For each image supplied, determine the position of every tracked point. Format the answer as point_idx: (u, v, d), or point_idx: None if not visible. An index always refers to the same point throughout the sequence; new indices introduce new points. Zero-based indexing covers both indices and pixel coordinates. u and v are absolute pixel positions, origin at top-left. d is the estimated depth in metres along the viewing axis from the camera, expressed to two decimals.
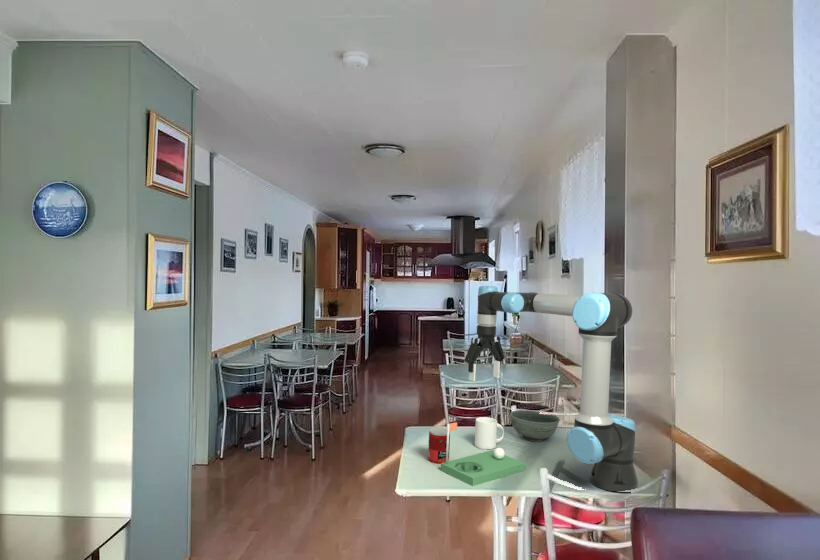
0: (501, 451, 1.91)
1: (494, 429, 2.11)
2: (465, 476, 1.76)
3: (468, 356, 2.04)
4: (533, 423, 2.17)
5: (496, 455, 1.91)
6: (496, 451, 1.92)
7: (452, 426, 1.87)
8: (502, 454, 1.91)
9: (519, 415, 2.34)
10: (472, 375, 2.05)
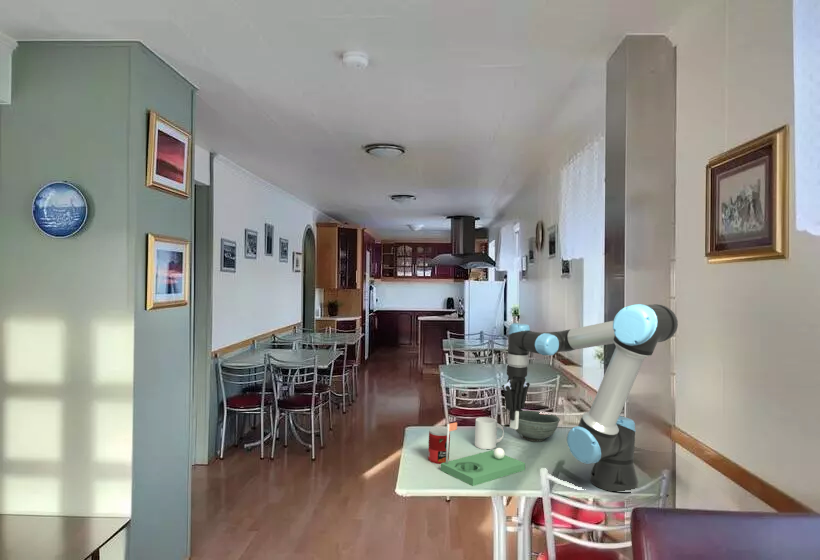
0: (501, 451, 1.91)
1: (494, 429, 2.11)
2: (465, 476, 1.76)
3: (508, 405, 1.95)
4: (533, 423, 2.17)
5: (496, 455, 1.91)
6: (496, 451, 1.92)
7: (452, 426, 1.87)
8: (502, 454, 1.91)
9: (519, 415, 2.34)
10: (514, 423, 1.97)
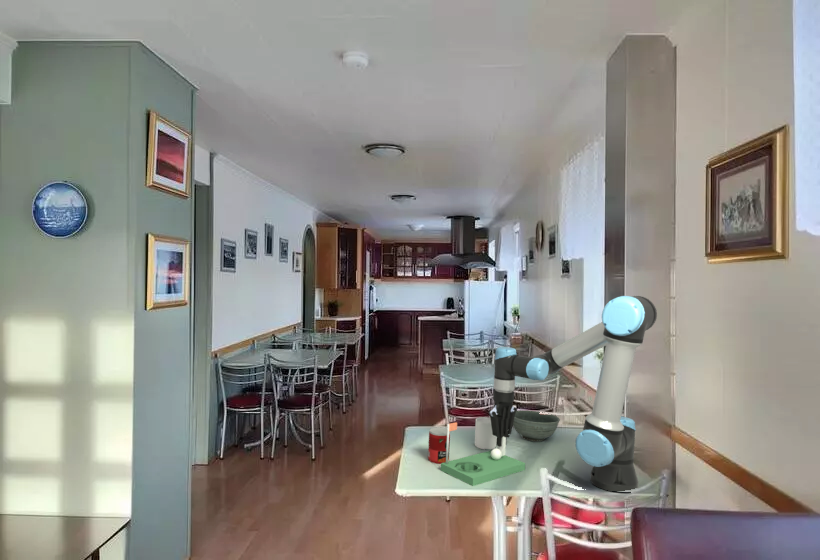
0: (497, 453, 1.90)
1: None
2: (465, 476, 1.76)
3: (494, 431, 1.91)
4: (533, 423, 2.17)
5: (494, 459, 1.91)
6: (492, 455, 1.91)
7: (452, 426, 1.87)
8: (499, 455, 1.90)
9: (519, 415, 2.34)
10: (500, 449, 1.93)
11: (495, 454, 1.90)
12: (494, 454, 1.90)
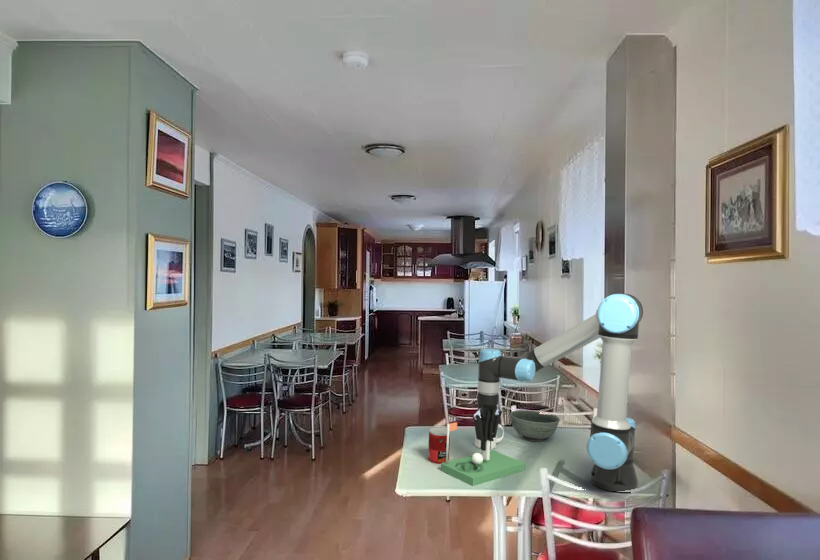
0: (481, 456, 1.86)
1: None
2: (465, 476, 1.76)
3: (478, 434, 1.86)
4: (533, 423, 2.17)
5: (475, 456, 1.85)
6: (477, 453, 1.86)
7: (452, 426, 1.87)
8: (481, 459, 1.85)
9: (519, 415, 2.34)
10: (485, 453, 1.88)
11: (480, 455, 1.86)
12: (480, 454, 1.86)
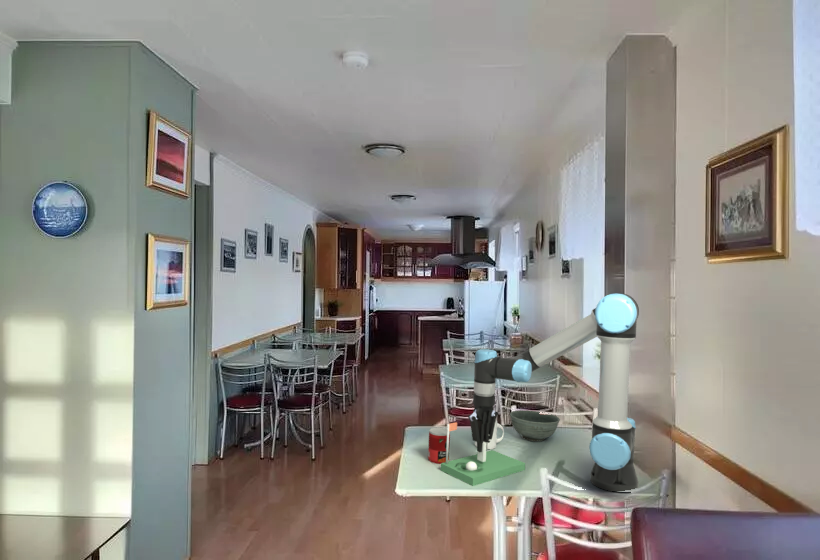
0: (470, 469, 1.82)
1: (494, 429, 2.11)
2: (465, 476, 1.76)
3: (474, 436, 1.85)
4: (533, 423, 2.17)
5: None
6: (466, 469, 1.83)
7: (452, 426, 1.87)
8: None
9: (519, 415, 2.34)
10: (481, 455, 1.86)
11: (469, 469, 1.83)
12: (468, 469, 1.83)
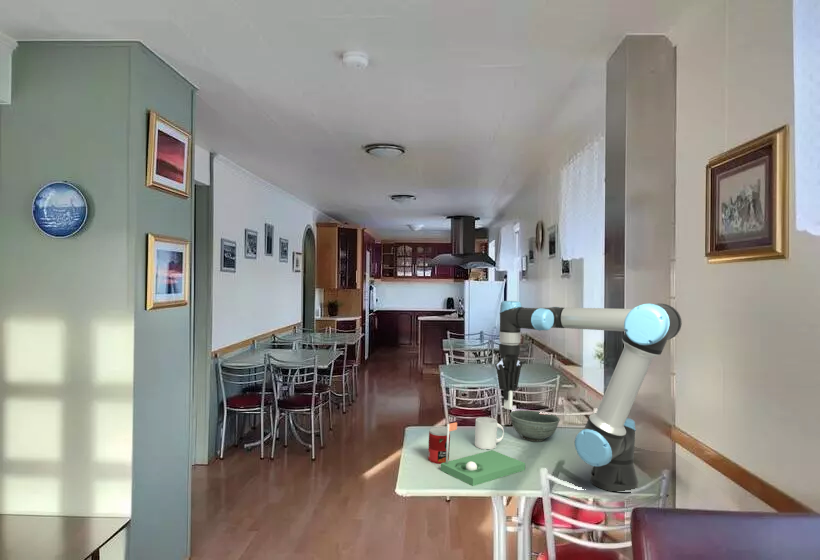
0: (470, 469, 1.82)
1: (494, 429, 2.11)
2: (465, 476, 1.76)
3: (501, 384, 1.90)
4: (533, 423, 2.17)
5: None
6: None
7: (452, 426, 1.87)
8: None
9: (519, 415, 2.34)
10: (507, 403, 1.92)
11: (469, 469, 1.83)
12: (468, 469, 1.83)
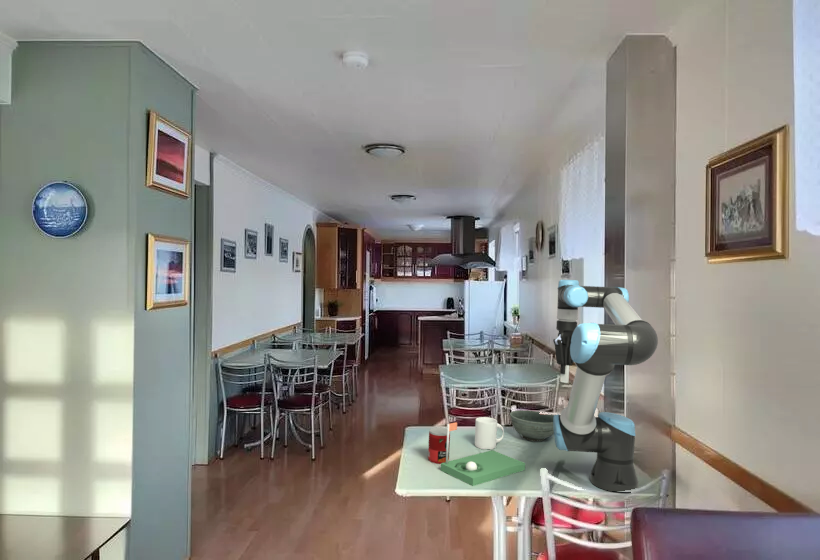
0: (470, 469, 1.82)
1: (494, 429, 2.11)
2: (465, 476, 1.76)
3: (559, 359, 1.99)
4: (533, 423, 2.17)
5: None
6: None
7: (452, 426, 1.87)
8: None
9: (519, 415, 2.34)
10: (564, 377, 2.01)
11: (469, 469, 1.83)
12: (468, 469, 1.83)
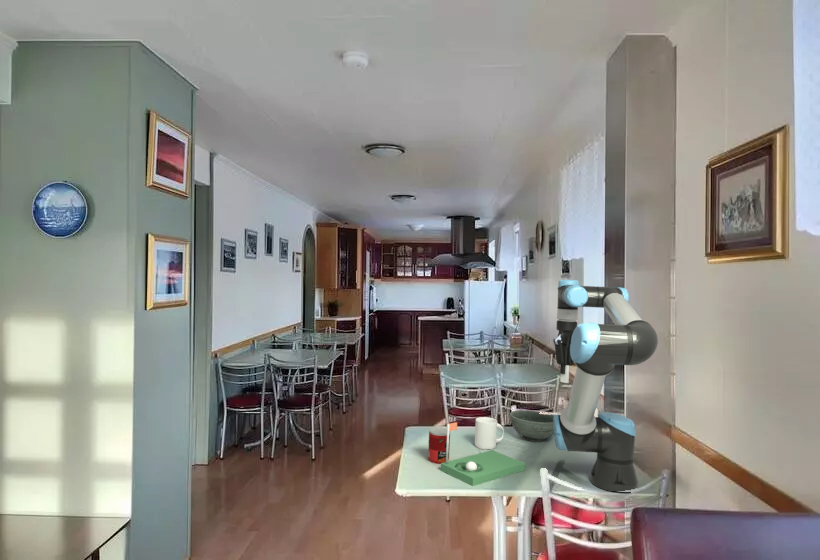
0: (470, 469, 1.82)
1: (494, 429, 2.11)
2: (465, 476, 1.76)
3: (559, 358, 1.99)
4: (533, 423, 2.17)
5: None
6: None
7: (452, 426, 1.87)
8: None
9: (519, 415, 2.34)
10: (564, 377, 2.01)
11: (468, 469, 1.83)
12: (468, 469, 1.83)
